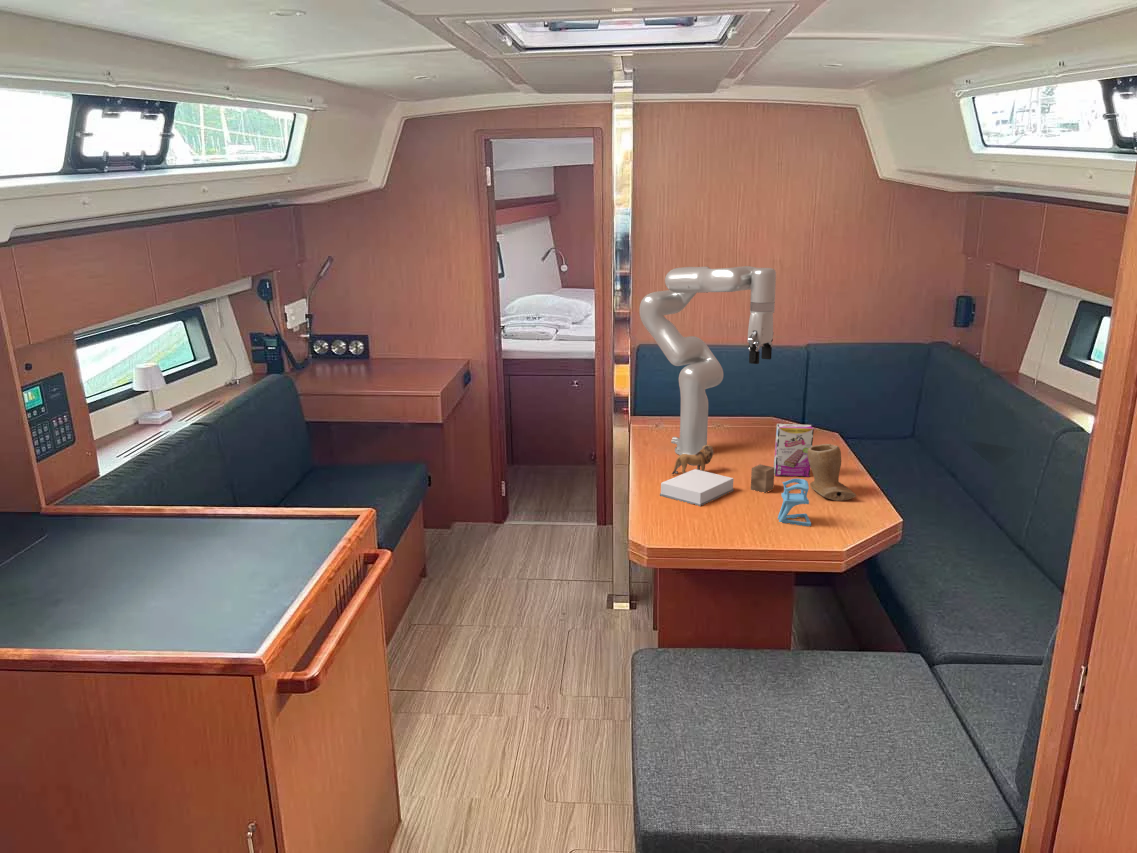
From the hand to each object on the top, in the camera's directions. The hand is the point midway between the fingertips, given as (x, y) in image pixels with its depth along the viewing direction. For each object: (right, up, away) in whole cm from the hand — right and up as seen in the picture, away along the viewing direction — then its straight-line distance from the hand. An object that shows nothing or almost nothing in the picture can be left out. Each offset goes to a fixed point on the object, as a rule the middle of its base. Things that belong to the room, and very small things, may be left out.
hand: (760, 361), depth 275 cm
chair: (+1, -47, -38) cm, 60 cm away
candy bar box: (+11, -37, +2) cm, 38 cm away
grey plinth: (-23, -41, -15) cm, 49 cm away
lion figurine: (-21, -36, +4) cm, 42 cm away
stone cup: (+17, -42, -16) cm, 48 cm away
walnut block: (-2, -40, -12) cm, 42 cm away
